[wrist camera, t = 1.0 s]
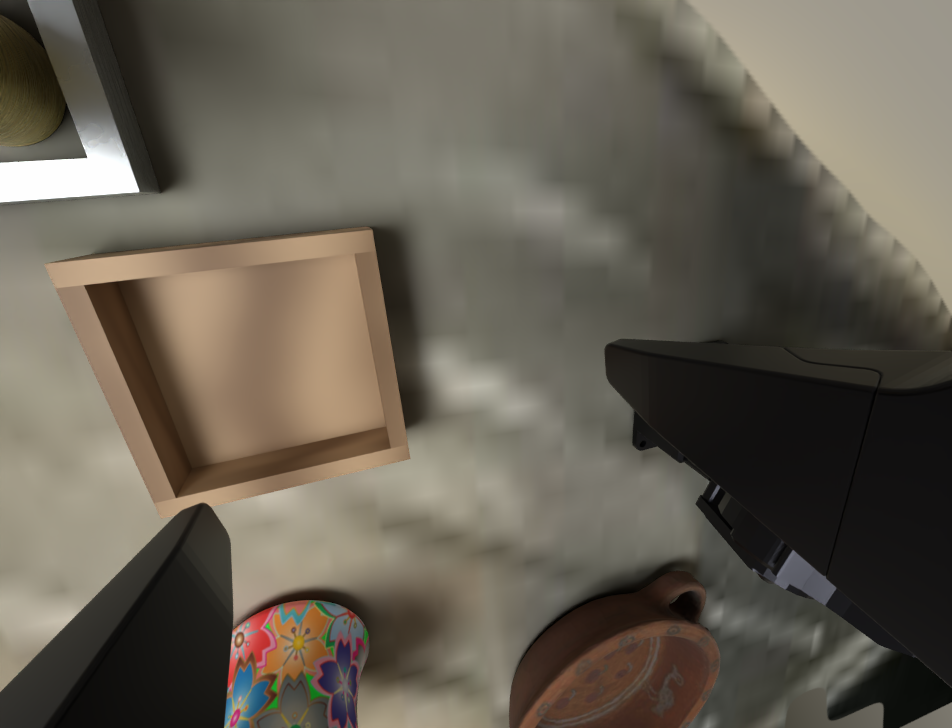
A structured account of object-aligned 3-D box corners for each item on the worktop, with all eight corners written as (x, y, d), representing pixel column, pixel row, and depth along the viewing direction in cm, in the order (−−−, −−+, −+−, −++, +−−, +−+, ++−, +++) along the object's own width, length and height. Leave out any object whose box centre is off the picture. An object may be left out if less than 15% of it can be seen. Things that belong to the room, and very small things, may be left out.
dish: (425, 739, 33) (440, 823, 28) (600, 520, 30) (646, 575, 26) (575, 756, 40) (605, 825, 36) (725, 582, 38) (777, 633, 33)
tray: (367, 226, 19) (372, 229, 16) (402, 430, 23) (410, 458, 20) (89, 254, 16) (43, 263, 14) (182, 479, 20) (160, 518, 18)
